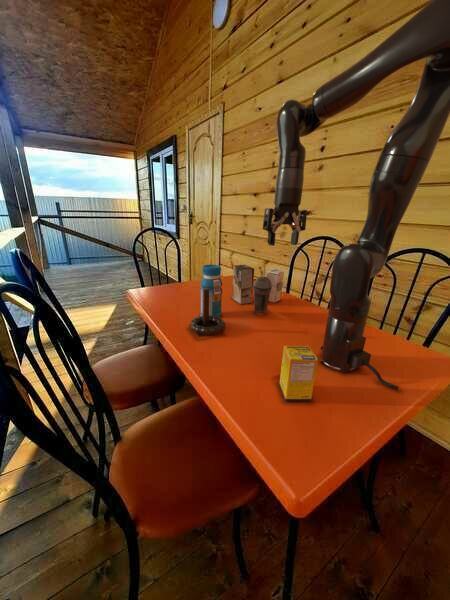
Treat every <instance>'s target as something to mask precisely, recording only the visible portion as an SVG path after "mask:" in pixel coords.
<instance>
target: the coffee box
mask: <svg viewBox="0 0 450 600" xmlns="http://www.w3.org/2000/svg"><path fill="white" fill-rule="evenodd" d="M232 269H233V271H232V272H233V273H232V295H231V297H232V298H231V299H232V300H234V301H235V302H237V303H238V304H240V305H246V304H252V303H253V296H254V287H253V286H254V280H255V279H254V278H255V268H254V267H252V266H249V265H246V264H236V265H233V268H232Z"/></svg>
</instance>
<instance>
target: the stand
mask: <svg viewBox="0 0 450 600" xmlns="http://www.w3.org/2000/svg"><path fill="white" fill-rule="evenodd" d="M198 325H199V326H202V327H214V326H217V324H215V323H209V288H203V323H200V324H198ZM188 327H190V324H188ZM193 333H194V334H195V335H196V336H197V337H198V338H201V337H206V336H207V335H205V334H199V333H196V332H194V331H193ZM221 333H224V330H223V331H221V332H220V333H219V334H221Z"/></svg>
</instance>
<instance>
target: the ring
mask: <svg viewBox="0 0 450 600" xmlns="http://www.w3.org/2000/svg"><path fill="white" fill-rule="evenodd" d="M200 323H203V316H201V315H200V316H197V317H195V318H193V319H191V322H190V324H189V325H190V326H189V328H190V329H191V330H192V332H193V333H194V332H196V333H199V334H205V335H206V336H210V335H216V334H221V333H222V332H221V331H223V332H224V330H225V329H226V322H225V320H224V319H222V318H221V317H219V316H218V317H215V316H209V323H215V324H216V325H217V326H214V327H202V326H199V325H198V324H200ZM220 332H221V333H220Z"/></svg>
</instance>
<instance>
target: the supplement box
mask: <svg viewBox="0 0 450 600" xmlns="http://www.w3.org/2000/svg"><path fill="white" fill-rule="evenodd" d="M318 361H319V359H318V357H317V355H316V354H315V353H314V351H313V350H312V349H311V347H310V346H309V345H283V351H282V359H281V366H280V375H279V385H278V387H279V388H280V391H281V394H282V396H283V399H284V402H312V397H313V391H314V386H315V379H316V373H317V367H318Z"/></svg>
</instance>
